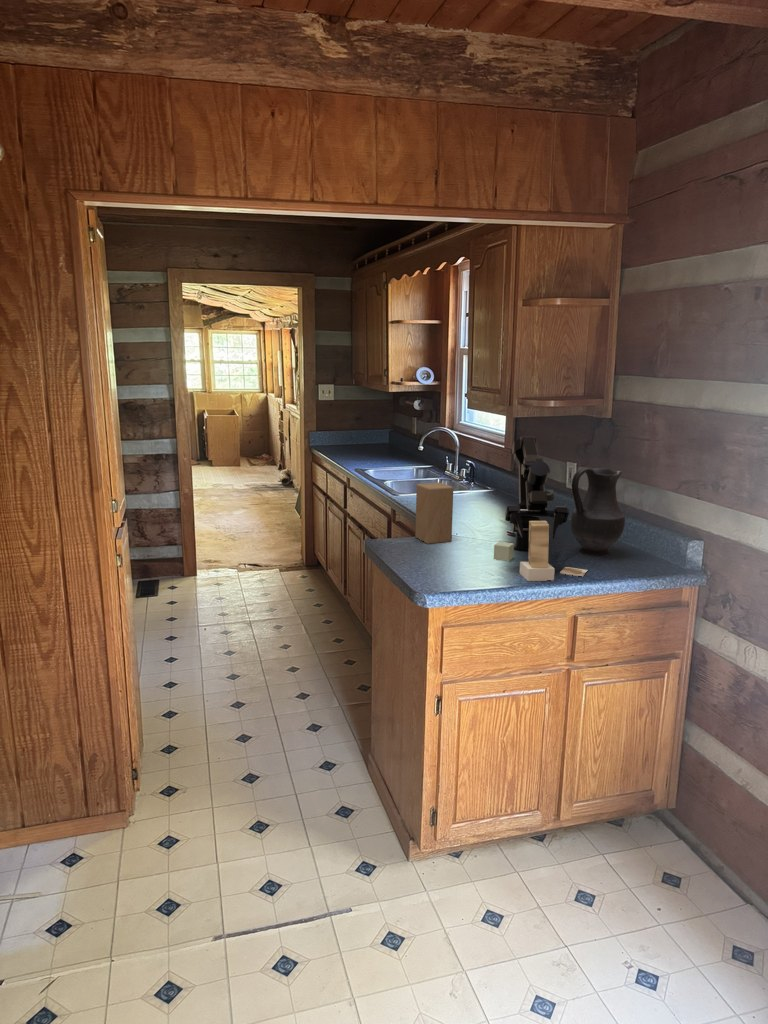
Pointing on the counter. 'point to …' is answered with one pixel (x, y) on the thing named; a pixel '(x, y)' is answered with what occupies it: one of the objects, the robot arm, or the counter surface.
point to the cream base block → (536, 572)
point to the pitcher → (597, 511)
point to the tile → (573, 571)
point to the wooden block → (434, 512)
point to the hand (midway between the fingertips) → (537, 537)
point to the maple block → (538, 543)
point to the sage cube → (503, 551)
